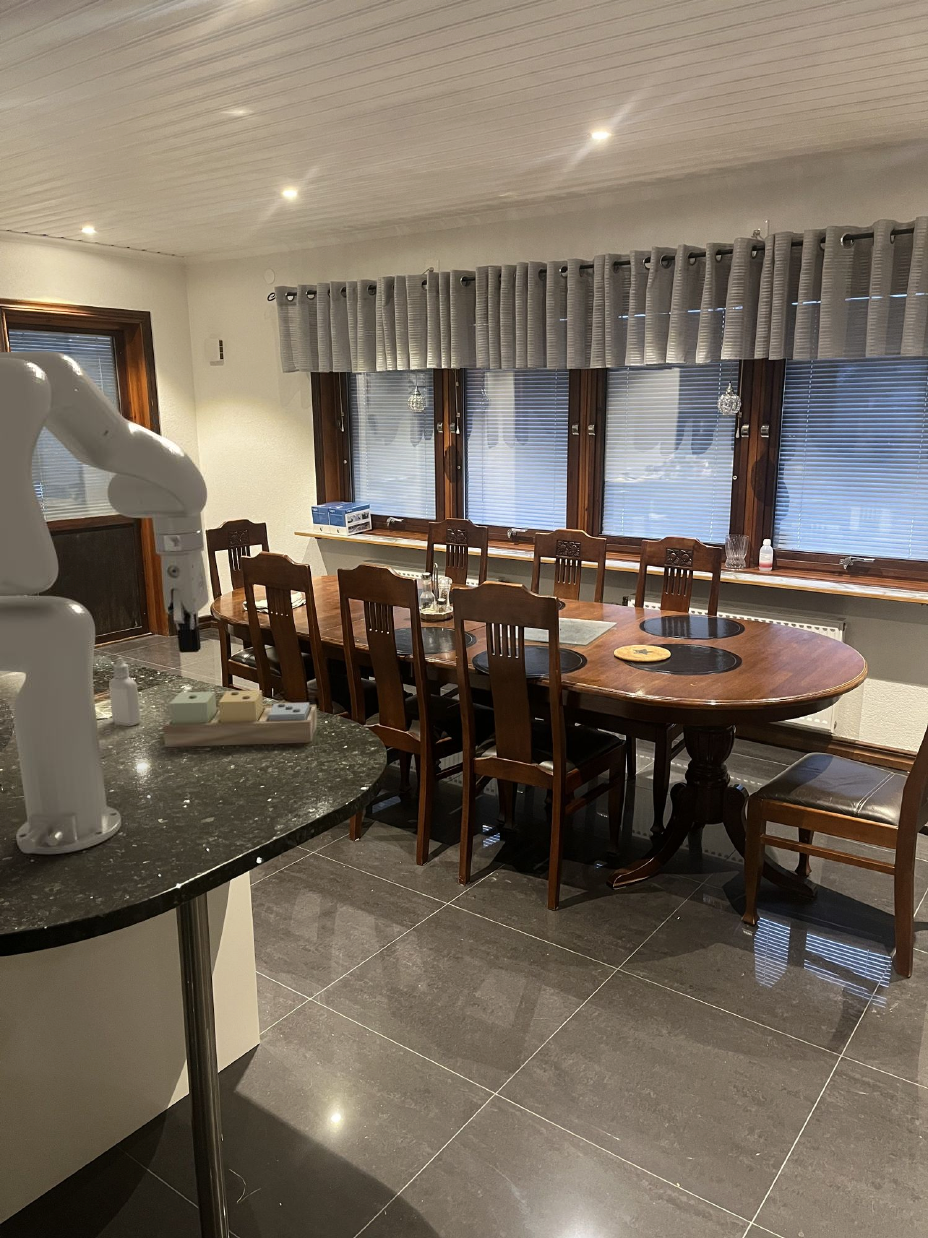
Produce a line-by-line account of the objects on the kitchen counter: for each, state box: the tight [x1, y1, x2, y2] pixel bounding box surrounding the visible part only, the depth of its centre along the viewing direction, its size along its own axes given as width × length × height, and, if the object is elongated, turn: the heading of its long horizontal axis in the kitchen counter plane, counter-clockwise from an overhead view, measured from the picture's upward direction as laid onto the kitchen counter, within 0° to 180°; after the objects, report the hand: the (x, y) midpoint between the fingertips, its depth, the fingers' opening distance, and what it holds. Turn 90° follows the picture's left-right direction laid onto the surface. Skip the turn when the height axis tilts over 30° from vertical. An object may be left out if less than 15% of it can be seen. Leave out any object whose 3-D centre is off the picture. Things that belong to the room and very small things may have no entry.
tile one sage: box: [169, 691, 217, 724], centre depth 151 cm, size 6×6×4 cm
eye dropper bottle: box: [108, 657, 141, 727], centre depth 158 cm, size 4×6×12 cm
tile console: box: [162, 704, 318, 748], centre depth 152 cm, size 9×24×4 cm, turn 92°
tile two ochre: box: [218, 689, 264, 722], centre depth 151 cm, size 6×6×4 cm
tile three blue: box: [268, 702, 310, 721], centre depth 152 cm, size 6×6×4 cm
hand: (190, 650), depth 149 cm, fingers closed
